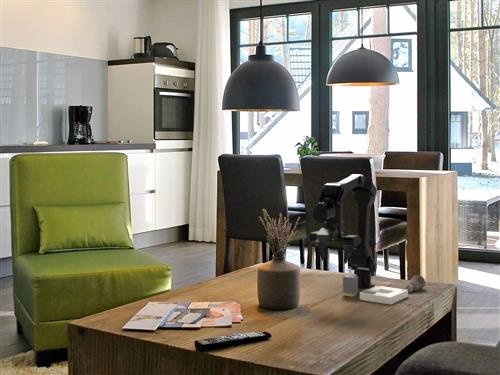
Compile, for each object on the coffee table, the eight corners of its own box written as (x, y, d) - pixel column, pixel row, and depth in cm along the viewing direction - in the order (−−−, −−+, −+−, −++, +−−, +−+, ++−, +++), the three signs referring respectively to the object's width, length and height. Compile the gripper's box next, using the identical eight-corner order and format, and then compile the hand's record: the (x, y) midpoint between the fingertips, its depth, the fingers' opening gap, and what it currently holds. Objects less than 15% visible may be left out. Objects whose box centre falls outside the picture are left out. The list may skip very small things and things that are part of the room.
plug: (348, 293, 259) (348, 274, 258) (357, 294, 256) (357, 276, 256) (342, 295, 256) (342, 276, 255) (352, 296, 253) (352, 277, 253)
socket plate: (377, 292, 260) (377, 283, 260) (407, 296, 253) (407, 288, 253) (359, 299, 249) (359, 290, 249) (390, 304, 242) (390, 295, 242)
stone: (410, 295, 259) (427, 282, 258) (400, 284, 260) (417, 270, 260) (412, 297, 268) (428, 283, 267) (403, 286, 270) (419, 272, 269)
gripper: (299, 219, 247) (299, 263, 249) (345, 224, 236) (345, 269, 238) (316, 215, 256) (316, 257, 258) (361, 219, 245) (361, 263, 246)
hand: (334, 262), depth 250 cm, fingers open, 9 cm apart
